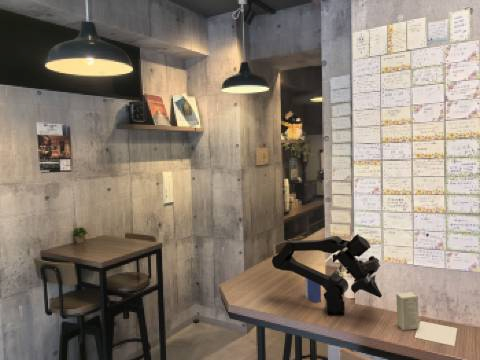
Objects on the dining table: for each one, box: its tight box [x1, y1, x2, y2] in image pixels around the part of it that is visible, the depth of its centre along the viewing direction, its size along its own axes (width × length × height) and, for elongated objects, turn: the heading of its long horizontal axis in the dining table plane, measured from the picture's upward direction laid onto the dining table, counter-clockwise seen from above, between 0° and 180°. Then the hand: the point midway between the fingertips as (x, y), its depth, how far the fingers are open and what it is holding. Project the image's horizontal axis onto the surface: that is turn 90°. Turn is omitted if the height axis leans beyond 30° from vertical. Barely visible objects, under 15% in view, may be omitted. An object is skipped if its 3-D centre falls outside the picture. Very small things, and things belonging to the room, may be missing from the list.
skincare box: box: [395, 291, 420, 331], centre depth 141 cm, size 6×4×12 cm
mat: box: [414, 320, 458, 347], centre depth 137 cm, size 12×14×1 cm
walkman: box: [304, 277, 322, 304], centre depth 169 cm, size 8×3×12 cm, turn 25°
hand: (381, 296), depth 146 cm, fingers closed
